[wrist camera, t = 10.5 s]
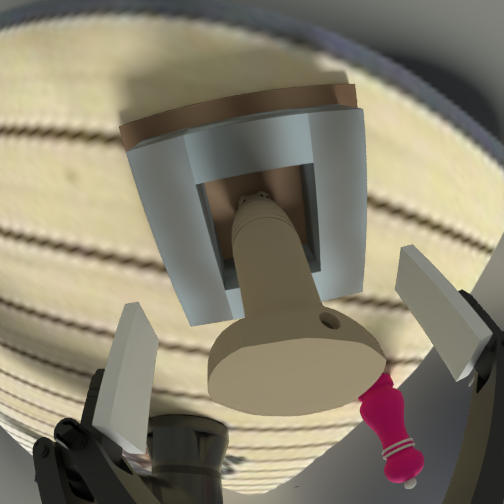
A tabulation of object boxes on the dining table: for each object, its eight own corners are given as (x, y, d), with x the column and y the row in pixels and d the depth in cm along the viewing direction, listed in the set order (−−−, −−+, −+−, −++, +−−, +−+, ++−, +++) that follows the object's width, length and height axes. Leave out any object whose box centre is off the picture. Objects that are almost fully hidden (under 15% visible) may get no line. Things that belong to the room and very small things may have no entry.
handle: (224, 167, 20) (230, 325, 7) (306, 192, 21) (408, 345, 9) (206, 226, 22) (195, 409, 9) (283, 245, 24) (341, 414, 11)
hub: (183, 301, 27) (179, 340, 23) (123, 124, 18) (97, 136, 14) (355, 267, 27) (376, 300, 23) (349, 83, 18) (382, 85, 14)
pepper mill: (357, 378, 39) (397, 493, 22) (397, 366, 39) (443, 471, 22) (349, 399, 42) (381, 501, 26) (386, 389, 43) (423, 483, 26)
